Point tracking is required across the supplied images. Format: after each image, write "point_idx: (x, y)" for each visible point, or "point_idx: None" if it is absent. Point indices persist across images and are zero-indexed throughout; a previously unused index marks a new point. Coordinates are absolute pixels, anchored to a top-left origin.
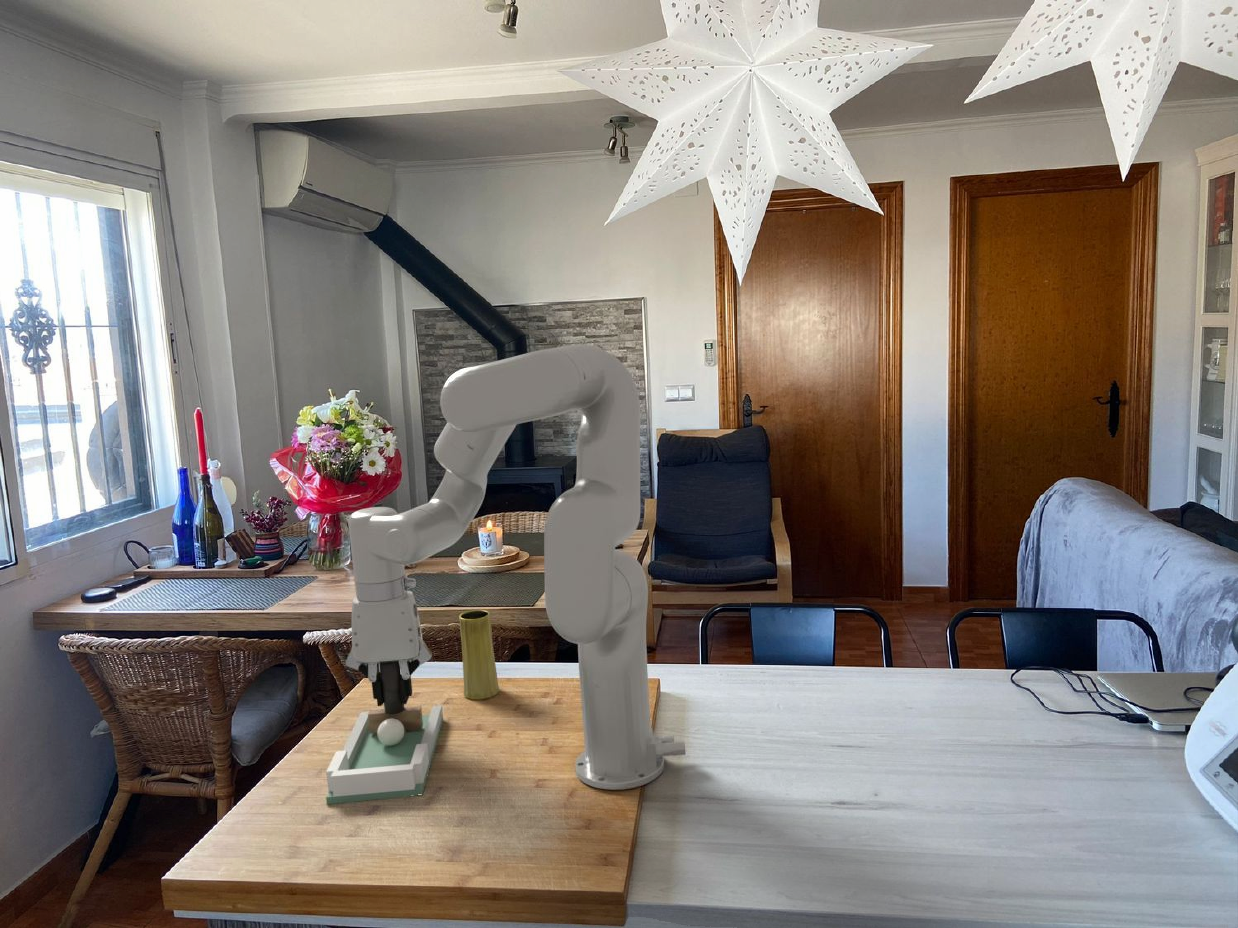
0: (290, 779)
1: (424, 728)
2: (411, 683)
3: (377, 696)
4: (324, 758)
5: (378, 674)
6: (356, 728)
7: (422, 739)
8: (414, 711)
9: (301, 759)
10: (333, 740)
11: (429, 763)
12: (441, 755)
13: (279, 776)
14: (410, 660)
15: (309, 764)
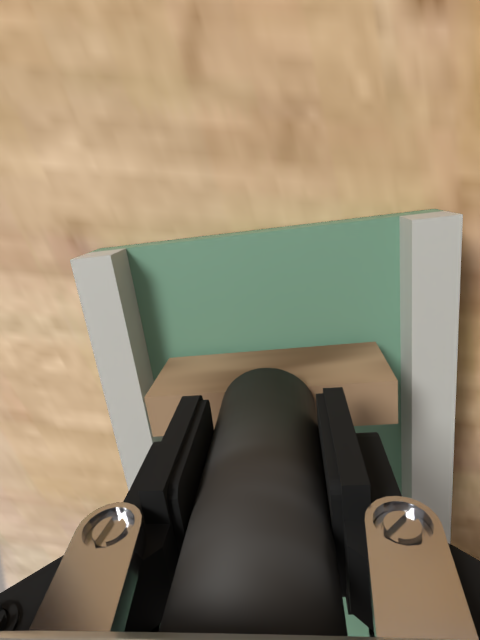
0: (43, 551)
1: (379, 347)
2: (389, 464)
3: None
4: (77, 460)
5: (160, 592)
6: (121, 408)
7: None
8: (369, 422)
9: (9, 457)
10: (43, 349)
11: None
12: (457, 488)
13: (4, 534)
14: (466, 616)
15: (50, 487)
